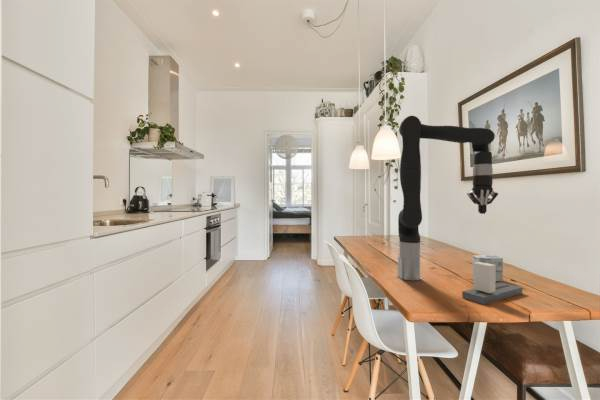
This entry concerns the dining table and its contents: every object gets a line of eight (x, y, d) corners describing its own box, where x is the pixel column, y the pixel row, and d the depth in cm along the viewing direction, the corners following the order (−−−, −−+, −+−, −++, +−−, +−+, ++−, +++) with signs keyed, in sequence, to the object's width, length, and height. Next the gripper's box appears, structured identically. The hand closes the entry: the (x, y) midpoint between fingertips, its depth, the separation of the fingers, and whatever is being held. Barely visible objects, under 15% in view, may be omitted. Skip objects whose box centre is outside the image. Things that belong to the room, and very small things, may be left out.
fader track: (485, 305, 105) (485, 297, 105) (460, 297, 113) (460, 290, 113) (524, 294, 117) (524, 287, 117) (499, 287, 125) (499, 281, 125)
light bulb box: (495, 277, 141) (495, 255, 141) (503, 281, 135) (503, 258, 135) (471, 277, 142) (471, 254, 142) (478, 280, 136) (478, 257, 136)
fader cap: (489, 293, 108) (489, 265, 108) (473, 288, 114) (473, 262, 114) (495, 291, 110) (495, 264, 110) (479, 287, 116) (479, 261, 116)
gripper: (492, 175, 136) (492, 213, 136) (463, 175, 136) (462, 213, 136) (503, 174, 128) (502, 214, 129) (472, 174, 129) (471, 214, 129)
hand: (482, 213), depth 132 cm, fingers closed
